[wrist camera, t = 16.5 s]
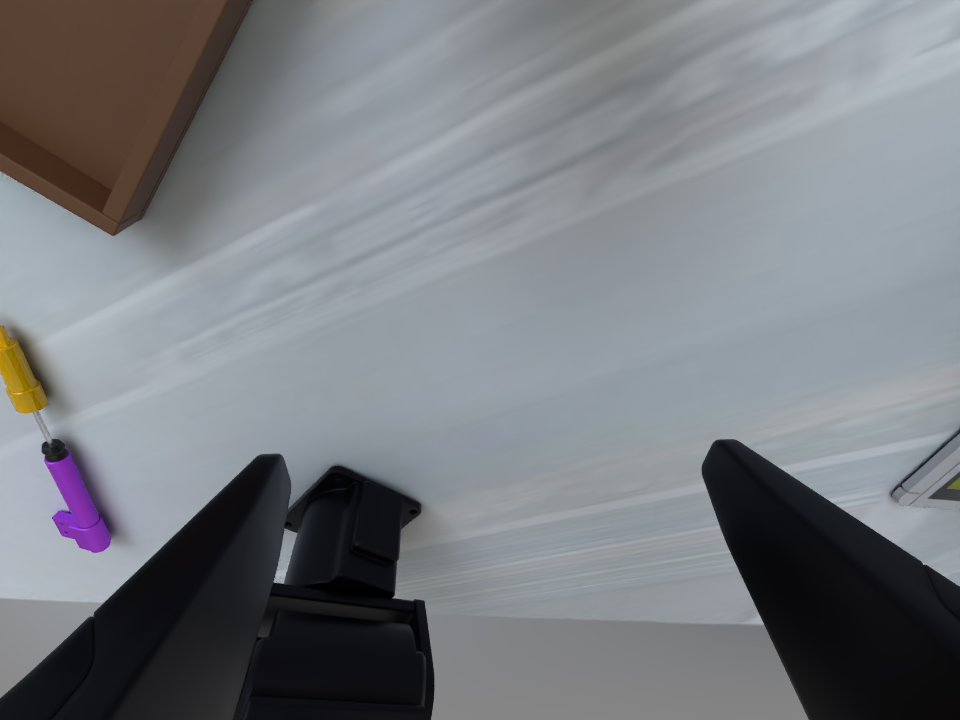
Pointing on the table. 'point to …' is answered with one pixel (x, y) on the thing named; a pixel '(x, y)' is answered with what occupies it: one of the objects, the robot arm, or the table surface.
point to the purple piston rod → (53, 452)
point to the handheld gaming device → (935, 481)
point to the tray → (104, 95)
